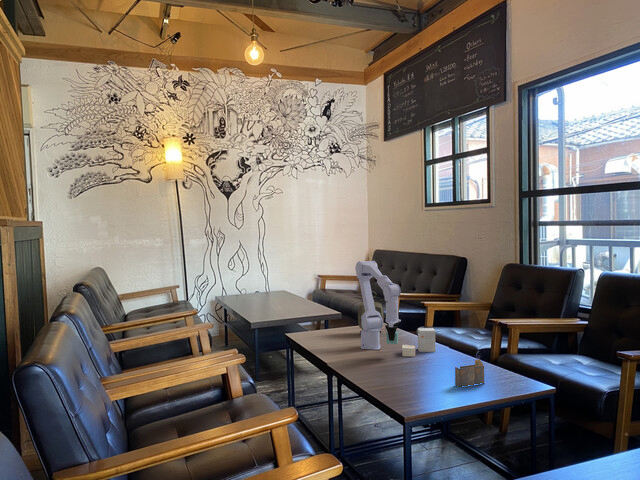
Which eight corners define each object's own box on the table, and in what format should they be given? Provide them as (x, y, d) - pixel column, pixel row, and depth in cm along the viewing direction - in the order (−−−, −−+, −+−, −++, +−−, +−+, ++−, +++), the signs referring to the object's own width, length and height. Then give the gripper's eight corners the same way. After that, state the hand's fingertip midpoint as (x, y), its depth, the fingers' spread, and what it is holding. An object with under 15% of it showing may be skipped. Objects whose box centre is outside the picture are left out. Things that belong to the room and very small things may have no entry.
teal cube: (386, 343, 211) (386, 333, 211) (387, 341, 216) (387, 330, 216) (397, 344, 210) (397, 333, 210) (398, 341, 215) (398, 331, 215)
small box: (433, 349, 226) (433, 328, 226) (435, 352, 221) (435, 330, 220) (417, 348, 227) (417, 327, 227) (418, 351, 221) (418, 330, 221)
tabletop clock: (383, 332, 261) (382, 289, 260) (384, 336, 252) (383, 291, 251) (358, 332, 262) (357, 289, 261) (357, 336, 253) (357, 291, 252)
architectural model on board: (479, 382, 179) (479, 358, 178) (484, 385, 176) (484, 360, 176) (454, 386, 175) (454, 361, 175) (459, 388, 172) (459, 363, 172)
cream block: (402, 356, 215) (402, 348, 215) (402, 352, 221) (402, 344, 221) (415, 356, 214) (415, 348, 214) (415, 353, 220) (415, 345, 220)
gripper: (399, 313, 205) (399, 343, 205) (401, 307, 219) (401, 335, 219) (383, 313, 206) (384, 342, 207) (386, 307, 221) (387, 335, 221)
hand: (392, 339), depth 213 cm, fingers closed on teal cube, 5 cm apart
